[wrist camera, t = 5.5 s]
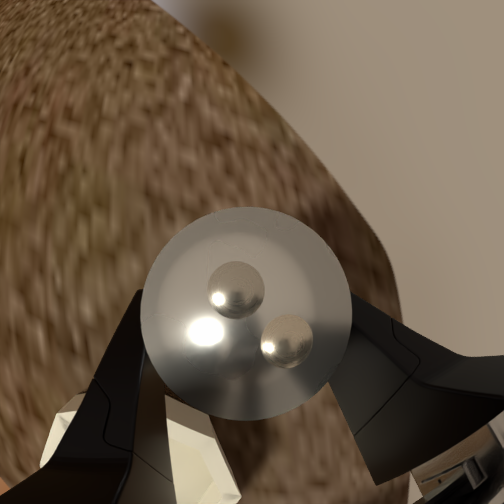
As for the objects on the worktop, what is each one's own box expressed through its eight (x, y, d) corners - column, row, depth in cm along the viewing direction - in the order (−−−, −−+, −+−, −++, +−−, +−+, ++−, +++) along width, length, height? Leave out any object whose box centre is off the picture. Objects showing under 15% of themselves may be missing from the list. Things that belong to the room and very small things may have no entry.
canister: (260, 332, 16) (374, 374, 6) (181, 356, 15) (183, 449, 5) (237, 254, 16) (322, 186, 6) (157, 275, 15) (114, 234, 5)
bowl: (245, 497, 16) (257, 526, 12) (107, 521, 13) (101, 548, 9) (191, 368, 16) (193, 384, 13) (38, 400, 14) (14, 417, 10)
